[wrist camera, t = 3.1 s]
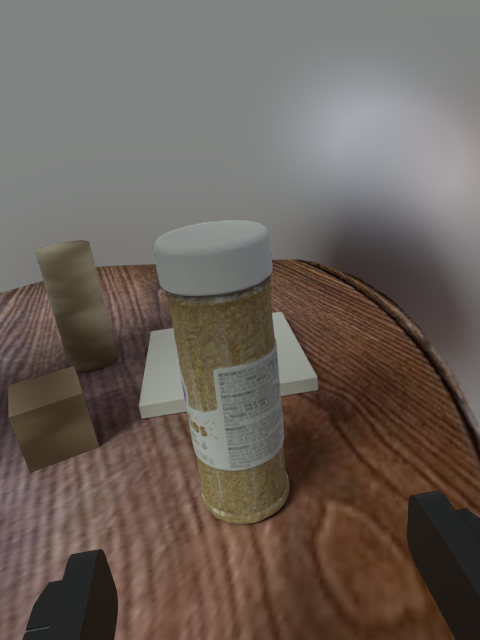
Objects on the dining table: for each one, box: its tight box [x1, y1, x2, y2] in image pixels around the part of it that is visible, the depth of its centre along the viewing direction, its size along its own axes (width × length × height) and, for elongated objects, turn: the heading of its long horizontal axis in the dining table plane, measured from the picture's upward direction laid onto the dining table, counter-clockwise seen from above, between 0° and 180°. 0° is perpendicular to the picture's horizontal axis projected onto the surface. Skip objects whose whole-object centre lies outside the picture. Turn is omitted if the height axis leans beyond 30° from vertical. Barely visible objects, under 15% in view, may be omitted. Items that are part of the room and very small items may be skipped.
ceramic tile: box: [139, 312, 318, 419], centre depth 35 cm, size 12×12×1 cm
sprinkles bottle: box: [153, 220, 290, 524], centre depth 20 cm, size 5×5×13 cm
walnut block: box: [8, 366, 99, 473], centre depth 27 cm, size 4×4×4 cm
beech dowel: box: [35, 240, 117, 372], centre depth 36 cm, size 4×4×10 cm
